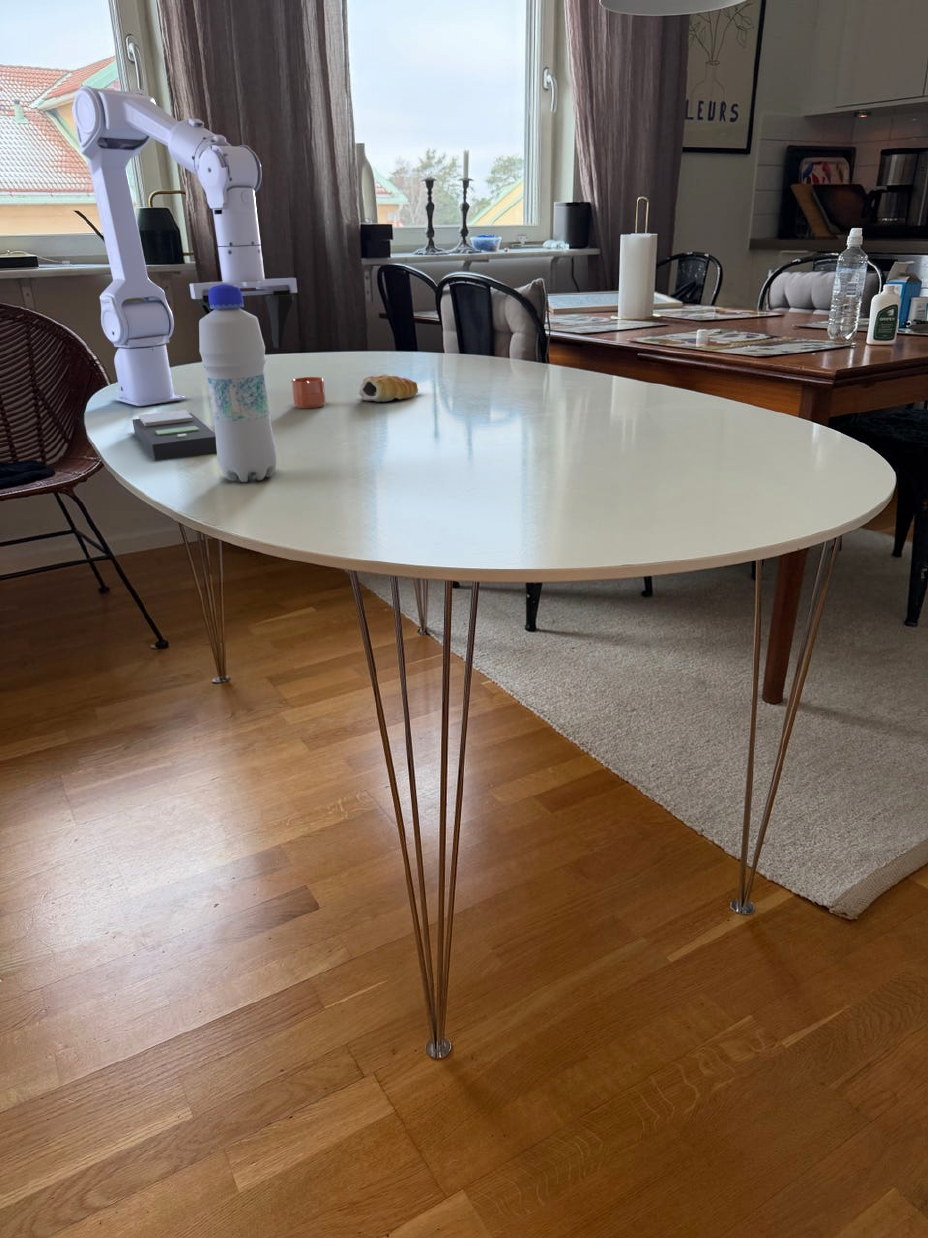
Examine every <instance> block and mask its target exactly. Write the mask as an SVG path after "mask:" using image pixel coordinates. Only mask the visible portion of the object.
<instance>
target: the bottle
mask: <svg viewBox="0 0 928 1238" xmlns="http://www.w3.org/2000/svg"><path fill="white" fill-rule="evenodd" d="M242 292H243V291H242V290H241V288H238V287H237V286H234V285H229V284H221V285H217V286H214V287H212V288H210V290H209V294H208V296H209V304H210V308H211V309H215V310H213V311H212V312H210V313H209V314H208V315H204V316H203V317H202V318H200V319H199V322H198V333H199V336H198V337H199V339H198V340H199V341H198V342H199V350H198V351H199V354H200V356H201V365H202V367H203V368H204V370H205V372H206V377H207V382H208V383H207V384H208V392H209V398H210V404H211V410H212V417H213V422H214V432H215V435H216V448H217V453H216V455H217V461H218V463H219V466H220V467H219V468H220V469H221V471H222V473H223V475H224V477H225V478H226V479H227V480H229V481H232V482H235V481H236V480H237V477H238V479H239V481H241V482H242V483H247V482H249V474H250V473H254V474H255V479H256V480H257V481H262V480H264V479H265V477H267V478H269V477H272V476H273V475H274V474H275V472H276V468H277V449H276V444H275V437H274V432H273V428H272V423H271V418H270V417H271V416H270V407H269V400H268V392H267V383H266V376H265V375H266V374H265V365H266V362H267V359H266V356H265V355H266V345H265V342H264V338H263V336H262V331H261V327H260V323H259V322H260V321H259V319H258V316H256V315H254V314H252V313H249V312H248V311H246V310H244V309H243V308H244V299H243V298H244V297H243V296H242Z"/></svg>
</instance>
